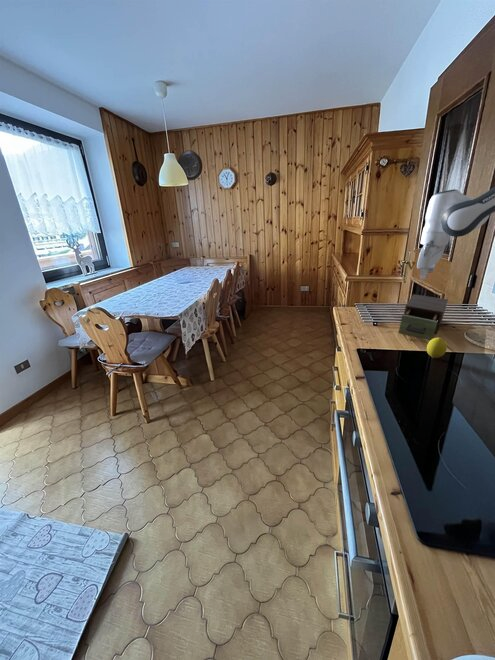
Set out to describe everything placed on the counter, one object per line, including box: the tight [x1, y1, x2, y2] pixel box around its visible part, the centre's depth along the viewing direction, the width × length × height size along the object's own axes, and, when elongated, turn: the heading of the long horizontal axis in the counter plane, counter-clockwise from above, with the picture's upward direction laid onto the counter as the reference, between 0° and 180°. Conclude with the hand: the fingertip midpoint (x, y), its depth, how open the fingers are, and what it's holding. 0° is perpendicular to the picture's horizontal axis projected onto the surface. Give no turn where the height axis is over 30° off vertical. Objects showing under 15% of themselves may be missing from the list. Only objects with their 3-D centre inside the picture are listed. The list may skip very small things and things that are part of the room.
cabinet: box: [403, 293, 449, 336], centre depth 118 cm, size 15×13×10 cm
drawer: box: [397, 308, 439, 341], centre depth 110 cm, size 18×12×8 cm, turn 142°
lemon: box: [426, 337, 448, 359], centre depth 96 cm, size 6×6×8 cm
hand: (426, 275), depth 110 cm, fingers open, 8 cm apart
